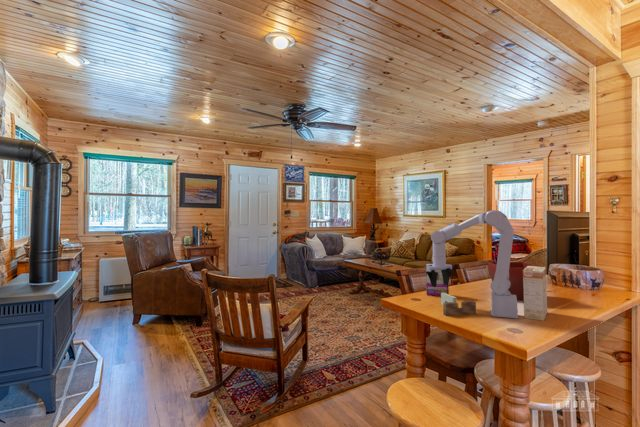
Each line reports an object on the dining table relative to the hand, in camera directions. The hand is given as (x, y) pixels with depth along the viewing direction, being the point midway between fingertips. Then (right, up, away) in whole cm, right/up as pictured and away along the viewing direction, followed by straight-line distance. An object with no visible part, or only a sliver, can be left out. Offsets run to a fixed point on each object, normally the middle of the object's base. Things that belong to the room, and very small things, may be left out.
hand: (439, 285), depth 153 cm
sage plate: (+3, -10, -2) cm, 10 cm away
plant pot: (+44, -9, +14) cm, 47 cm away
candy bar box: (+7, -10, +22) cm, 25 cm away
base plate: (+4, -9, -13) cm, 16 cm away
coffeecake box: (+34, -9, -16) cm, 39 cm away
